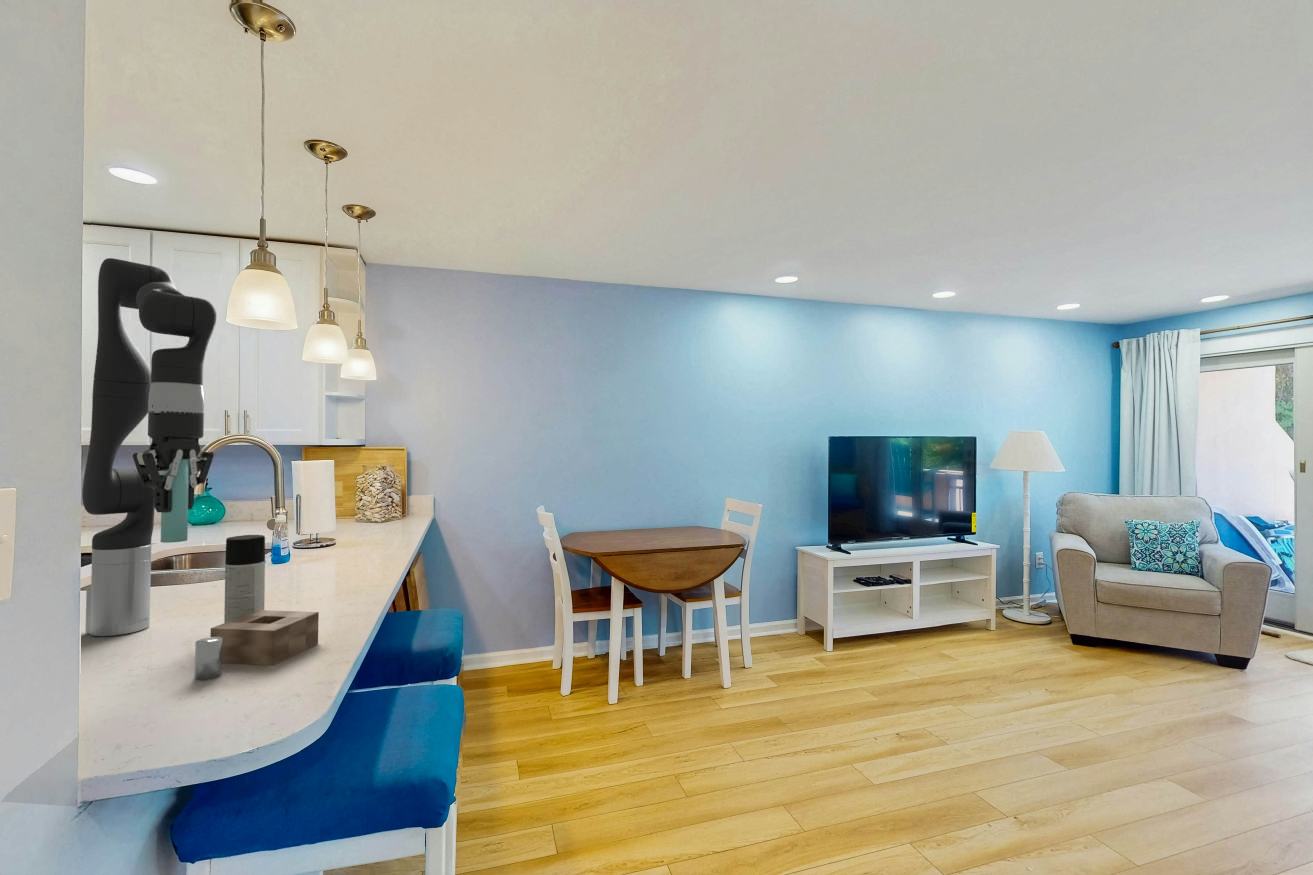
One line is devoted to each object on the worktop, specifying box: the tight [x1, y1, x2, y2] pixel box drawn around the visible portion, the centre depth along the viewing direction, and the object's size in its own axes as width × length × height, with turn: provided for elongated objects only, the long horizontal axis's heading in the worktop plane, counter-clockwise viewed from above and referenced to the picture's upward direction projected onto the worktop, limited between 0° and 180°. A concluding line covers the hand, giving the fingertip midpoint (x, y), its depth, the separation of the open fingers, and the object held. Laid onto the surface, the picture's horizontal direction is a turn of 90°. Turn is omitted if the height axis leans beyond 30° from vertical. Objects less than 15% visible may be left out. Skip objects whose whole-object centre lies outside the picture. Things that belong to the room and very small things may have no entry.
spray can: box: [223, 534, 266, 624], centre depth 122 cm, size 7×7×20 cm
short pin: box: [194, 636, 223, 682], centre depth 101 cm, size 4×4×6 cm
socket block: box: [209, 609, 320, 666], centre depth 113 cm, size 12×12×6 cm
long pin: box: [160, 459, 189, 544], centre depth 104 cm, size 4×4×14 cm
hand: (174, 510), depth 104 cm, fingers closed on long pin, 3 cm apart
